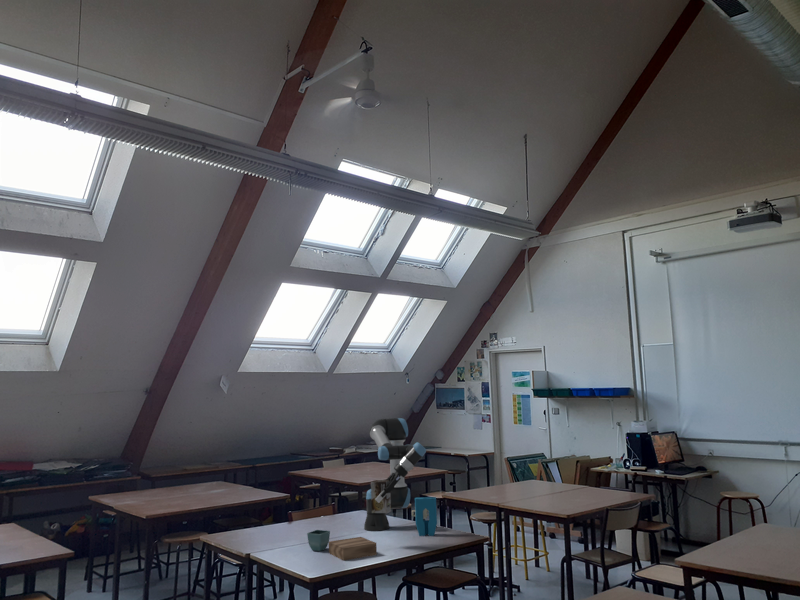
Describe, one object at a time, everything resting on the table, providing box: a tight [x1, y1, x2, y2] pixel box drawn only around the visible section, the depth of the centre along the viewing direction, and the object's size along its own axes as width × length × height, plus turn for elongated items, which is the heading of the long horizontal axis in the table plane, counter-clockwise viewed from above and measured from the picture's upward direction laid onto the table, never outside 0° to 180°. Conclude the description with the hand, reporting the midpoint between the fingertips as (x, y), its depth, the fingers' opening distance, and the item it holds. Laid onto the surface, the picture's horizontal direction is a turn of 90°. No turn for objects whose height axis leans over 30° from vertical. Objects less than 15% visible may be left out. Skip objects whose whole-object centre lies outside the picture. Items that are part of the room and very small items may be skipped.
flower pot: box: [306, 529, 331, 552], centre depth 307 cm, size 9×9×9 cm
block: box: [414, 496, 438, 537], centre depth 335 cm, size 12×5×20 cm, turn 86°
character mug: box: [411, 508, 429, 530], centre depth 348 cm, size 11×7×13 cm, turn 84°
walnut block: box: [328, 536, 378, 561], centre depth 296 cm, size 18×18×6 cm
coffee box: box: [370, 479, 392, 514], centre depth 315 cm, size 9×6×16 cm
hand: (375, 499), depth 314 cm, fingers closed on coffee box, 10 cm apart
